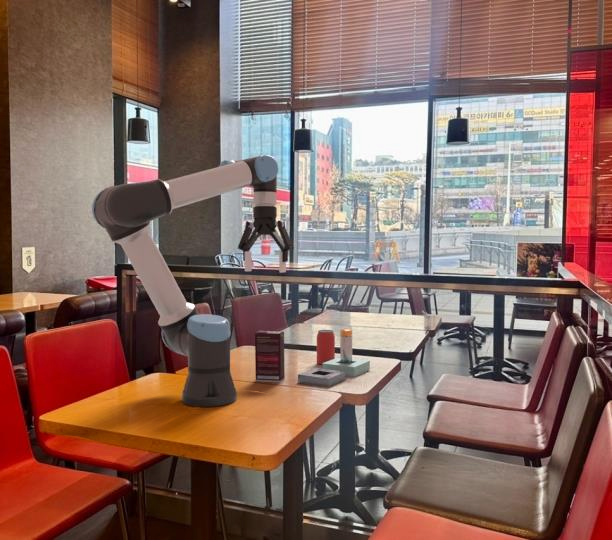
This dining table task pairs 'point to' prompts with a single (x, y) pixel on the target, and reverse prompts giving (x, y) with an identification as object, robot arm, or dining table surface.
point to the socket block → (348, 366)
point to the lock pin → (346, 346)
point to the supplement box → (269, 356)
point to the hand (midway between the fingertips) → (265, 271)
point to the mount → (321, 377)
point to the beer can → (325, 346)
